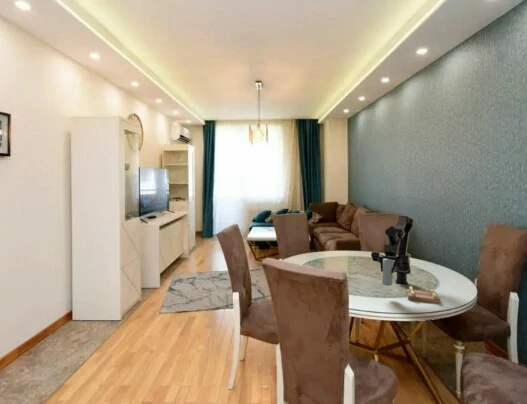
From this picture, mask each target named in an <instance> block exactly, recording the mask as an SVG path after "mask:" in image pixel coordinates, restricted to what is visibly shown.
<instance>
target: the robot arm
mask: <svg viewBox="0 0 527 404" xmlns="http://www.w3.org/2000/svg"><path fill="white" fill-rule="evenodd" d="M414 227H415V221H414V219H412V218H410V217H409V216H407V215H399V216H398V220H397V222H396V224H394V225H393V226H392V225H390V227H388V228H387V229H385V231H384V233H385V236H386V237H385V238H386V240H387V242H388V243H387V244H383V249H382V251H383V253H380V252H379V251H372V252H371V254H370V256H371V259H372V261H373V262H376V263H377V262H378V264H380V271H381V273H383V259H384V258H389V259H393V268H392V275H393V274H394V273H396V279H395V280H394V281H395V283H396V284H402V285H408V284H409V283H408V277H407V276H408V275H410V274H411V273H412V272H411V266H410V264H411V260H410V256H409V255H408V249H409V248H408V247H409V241H410V240H409V238H410V235H411V233H412V232H413V231H414Z"/></svg>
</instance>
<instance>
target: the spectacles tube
mask: <svg viewBox="0 0 527 404" xmlns="http://www.w3.org/2000/svg"><path fill="white" fill-rule="evenodd" d="M393 263H394V261H393V259H389V258H384V259H383V272H382V282H381V284H382V285H383V286H390V287H391V286H393V274H392V268H393Z"/></svg>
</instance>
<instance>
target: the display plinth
mask: <svg viewBox="0 0 527 404" xmlns="http://www.w3.org/2000/svg"><path fill="white" fill-rule="evenodd" d="M405 290H406V296H407V299H408V301H414V302H423V303H432V304H433V303H434V304H440V298H439V296H438V294H437V292H436V291H435V290H434V288H433V287H429V290H423V289H413V286H412V285H409V287H408V288H406V289H405Z"/></svg>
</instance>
